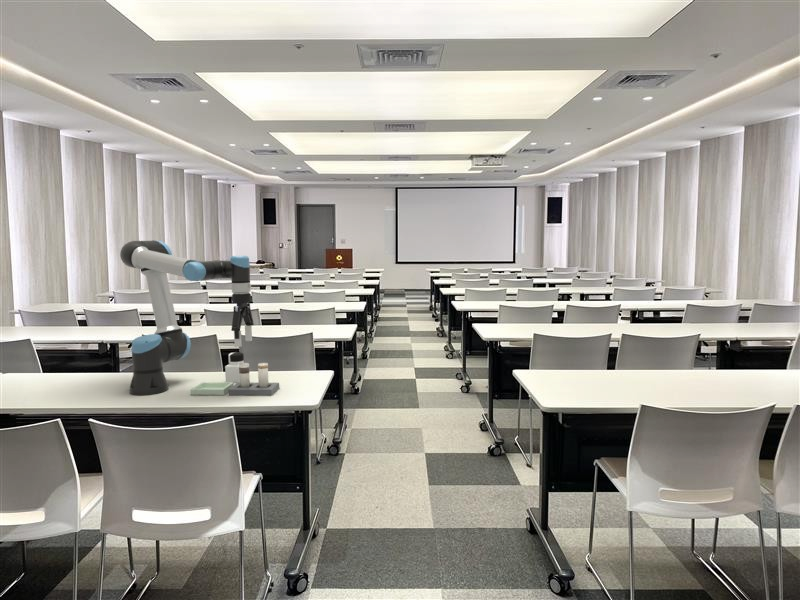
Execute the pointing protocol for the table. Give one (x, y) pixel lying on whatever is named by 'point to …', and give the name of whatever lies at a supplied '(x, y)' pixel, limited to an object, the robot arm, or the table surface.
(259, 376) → the cylinder
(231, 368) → the container
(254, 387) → the fuse block
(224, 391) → the parts tray
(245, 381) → the fuse
